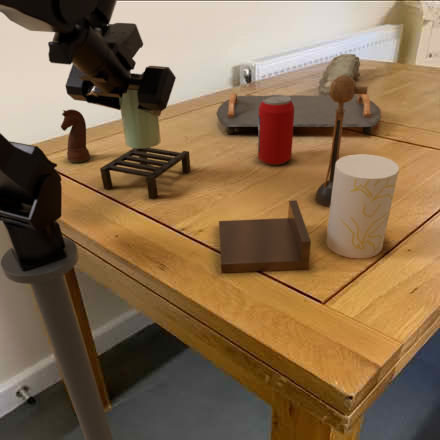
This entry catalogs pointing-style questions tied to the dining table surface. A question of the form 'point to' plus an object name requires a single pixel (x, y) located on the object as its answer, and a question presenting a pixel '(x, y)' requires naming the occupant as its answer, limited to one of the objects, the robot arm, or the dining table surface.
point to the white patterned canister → (360, 204)
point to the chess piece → (75, 136)
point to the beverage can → (275, 129)
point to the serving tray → (302, 112)
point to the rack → (145, 166)
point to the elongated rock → (339, 71)
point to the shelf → (265, 243)
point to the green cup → (138, 123)
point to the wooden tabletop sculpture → (337, 130)
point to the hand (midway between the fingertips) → (144, 111)
